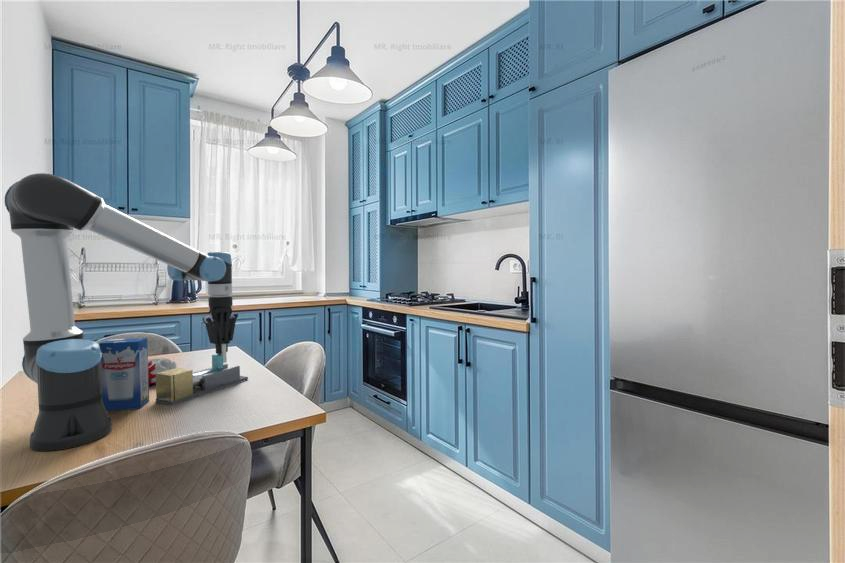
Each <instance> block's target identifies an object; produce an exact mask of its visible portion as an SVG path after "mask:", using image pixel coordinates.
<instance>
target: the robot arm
mask: <svg viewBox="0 0 845 563" xmlns="http://www.w3.org/2000/svg"><path fill="white" fill-rule="evenodd" d="M4 206H5V208H6V210H7V212H8V213H9V221H10V231H11V232H12V233H14V234H15V235H17V236H18V237H19V238H20V244H21V251H22V261H23V262H22V264H23V272H24V279H25V281H24V283H25V290H26V300H27V308H28V310H27V312H28V318H29V319H28V320H29V327H30V330H29V332H28V333H27V334H26V335H25V336H24V337H23V338H22V342H23V352H24V354H23V357H22V361H21V362H22V363H21V367H22V370H23V372H24V374H25V375H26V376H27V378H29V379H30V380H31V381H33V382H35V384H37V395H38V396H37V397H38V398H37V399H38V414H37V417H36V420H35V423H34V426H33V431H32V432H31V433H30V435H29V448H30V449H31V450H33V451H37V452H38V451H39V452H51V451H59V450H60V451H61V450H66V449H70V448H76V447H80V446H83V445H86V444H88V443H89V444H90V443H92V442H95V441H97V440H100V439H101V438H104V437H105V436H107V435H108V434H110V433H111V431H113V420H112V418H111V417H110V416H109V414H108V411H107V410H106V408H105V406H104V403H103V401H102V374H101V358H102V354H101V351H100V346H99V343H98V342H96V341H94V340H91V339H85V338H84V331H83V330H82V329H80V328H78V327H77V326H76V322H75V312H74V303H73V302H74V301H73V292H72V290H73V289H72V283H71V282H72V281H71V271H70V262H69V261H70V260H69V250H68V239H67V238H68V237H69V236H70V235H71V234H73V233H74V229H76V230H78V231H86V230H87V231H91V232H93V233H94V234H98V235H100V236H102V237H104V238H106V239H109V240H111V241H113V242H115V243H118V244H120V245H123V246H125V247H127V248H129V249H131V250H134V251H136V252H138V253H141V254H142V255H145V256H148V257H149V258H151V259H153V260H156V261H158V262H160V263H163V264H166V265H167V271H166V272H167V276H168V277H169V279H171V280H172V281H202V282H207V295H208V296H209V297H208V298H207V299H208V308H209V311H208V314H207V316H204V317H202V321H203V323H204V324H205V329H206V332H207V336H208V340H209V343H210V344H214V345H215V354H220V355H223V364H226V363H227V353H228V351H229V350H228V347H229V346H228V344H230V343H231V341H233V338H234V333H235V328H236V321H237V319H238V317H239V314H238V313H235V312H233V309H232V307H233V296H232V295H233V271H232V270H233V268H232V267H233V264H232V263H233V262H232V255H231V253H230V252H228V251H209V252H207V254H205V253H204V252H201V251H199V250H198V249H195V248H193V247H191V246H189V245H188V244H186V243H183V242H181V241H179V240H177V239H175V238H174V237H171V236H169V235H167V234H165V233H164V232H162V231H159V230H158V229H156V228H153V227H152V226H150V225H147V224H146V223H143V222H142V221H139V220H138V219H135V218H134V217H131V216H129V215H127V214H126V213H123V212H122V211H119V210H117V209H116V208H114V207H112V206H110V205H107V204H106V203H105V201H104V198H103V197H101V196H99V195H97V194H94V193H93V192H91V191H89V190H88V189H86V188H84V187H82V186H80V185H79V184H76V183H74V182H72V181H71V180H68V179H66V178H64V177H62V176H59V175H55V174H52V173H51V174H50V173H45V172H43V173H41V172H40V173H32V174H28V175H26V176H25V177H22V178H21V179H20V180H18V181H16V182H14V183H13V184H12V185H11V186H9V188H8V189H7V190H6V192H5V195H4Z"/></svg>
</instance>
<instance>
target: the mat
mask: <svg viewBox="0 0 845 563" xmlns="http://www.w3.org/2000/svg"><path fill="white" fill-rule="evenodd" d="M247 379H248V380H249V377H248V376H245V375H244V376H243V375H240V380H237V381H234V382H231V383H228V384H225V385H222V386H219V387H216V388H213V389H209V390H206V391H203V390H197V389H194V388H193V395H191V396H188V397H185V398H182V399H179V400H176V401H173V402H170V401H165V400H160V399H157V398H155V402H156V403H160V404H165V405H169V406H175V405H178V404H181V403H183V402H186V401H189V400H192V399H194V398H198V397H201V396H204V395H207V394H209V393H213V392H215V391H218V390H221V389H224V388H228V387H230V385H231V386H233V384H234V385H236V383H237V384H239V383H238V382H240V383H242V382H241V381H243V382H245V381H248V380H247ZM244 380H245V381H244ZM227 386H228V387H227Z"/></svg>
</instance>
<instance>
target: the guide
mask: <svg viewBox="0 0 845 563" xmlns="http://www.w3.org/2000/svg"><path fill="white" fill-rule="evenodd" d="M228 366H229V365H228V364H227V363H223V370H220V371H216V372H213V373H209V374H206V375H202V384H200V385H197V386H194V387H193V374H195V373H199V372H202V371H206V370H210V369H212V367H208V368H205V369H201V370H198V371H194V372H193V369H189V368H182V367H177V368H175V369H171V370H167V371H163V372H159V373H156V383H155V390H156V391H155V393H156V394H155V396H156V398H157V399H160V400H165V401H170V402H173V401H176V400H179V399H182V398H185V397H188V396H191V395H193V388H194V389H197V390H203V391H206V390H209V389H213V388H216V387H219V386H222V385H225V384H228V383H231V382H234V381H237V380H240V376H241V366H240V365H234V366H229V367H228ZM156 398H155V399H156Z"/></svg>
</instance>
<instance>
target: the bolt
mask: <svg viewBox="0 0 845 563" xmlns="http://www.w3.org/2000/svg"><path fill="white" fill-rule="evenodd" d="M223 364H224V363H223V355H220V354H216V353H213V354H212V355H211V368H212V369H210V370H206V371H202V372H199V373H195V374H193V387H194V386H197V385H200V384H202V375H206V374H209V373H213V372H216V371H220V370H223Z"/></svg>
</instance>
